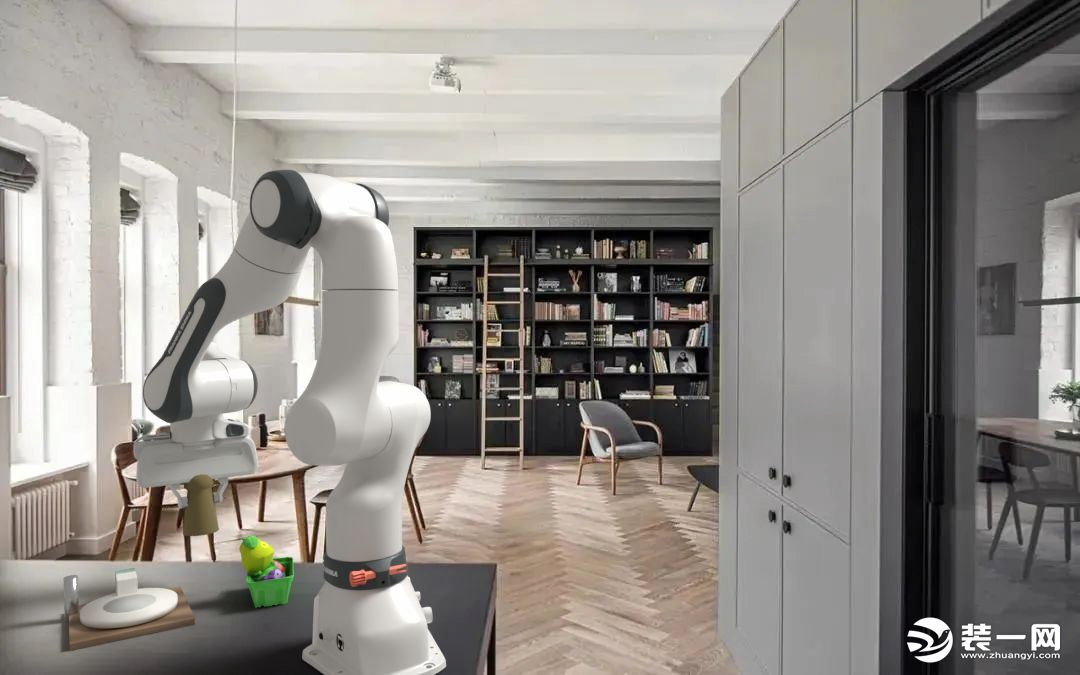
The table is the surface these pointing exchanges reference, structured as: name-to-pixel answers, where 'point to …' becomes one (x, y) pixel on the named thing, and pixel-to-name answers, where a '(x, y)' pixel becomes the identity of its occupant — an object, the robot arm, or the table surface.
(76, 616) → the wooden board
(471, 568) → the table surface
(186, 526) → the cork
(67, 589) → the dowel
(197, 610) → the table surface
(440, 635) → the table surface
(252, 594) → the fruit basket
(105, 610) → the white oval plate
